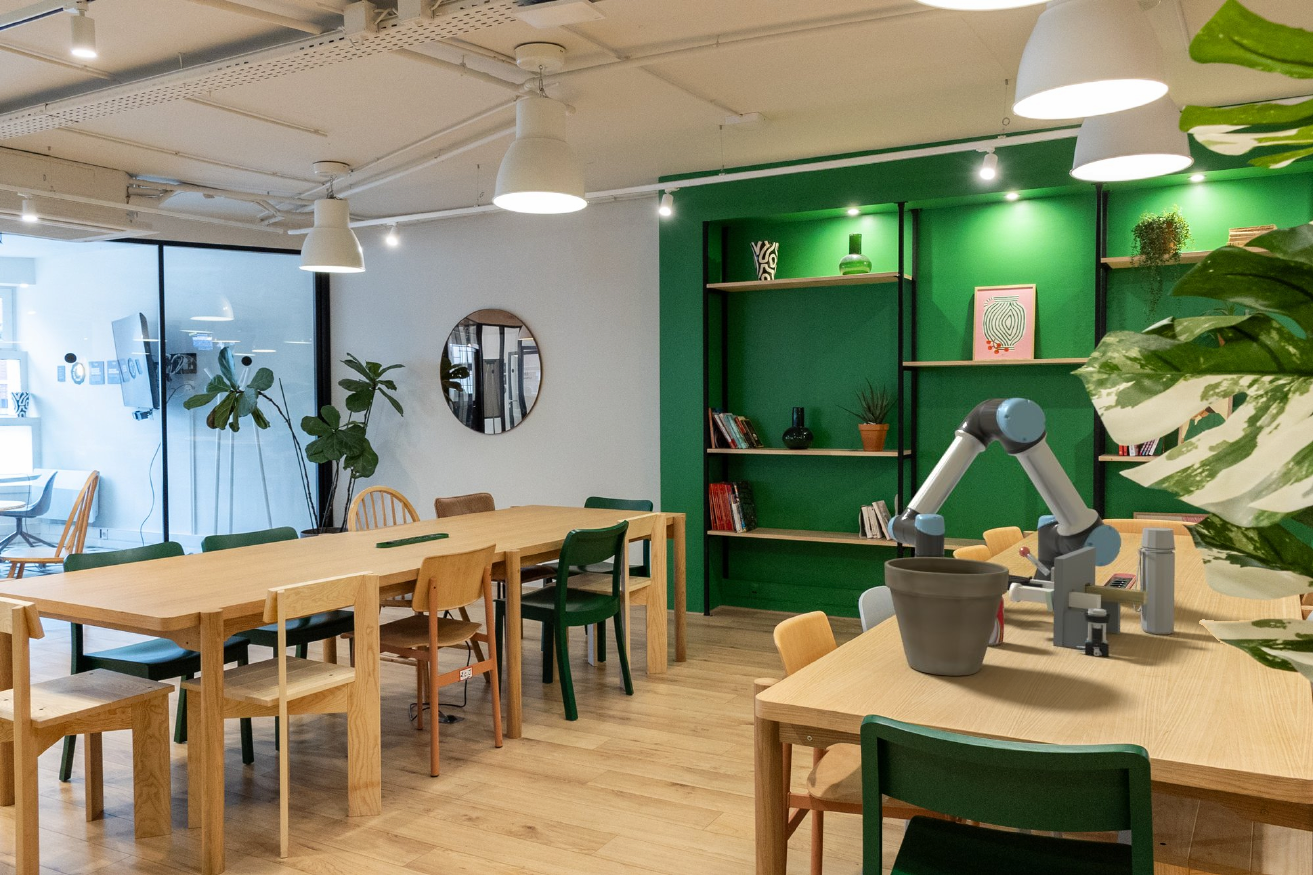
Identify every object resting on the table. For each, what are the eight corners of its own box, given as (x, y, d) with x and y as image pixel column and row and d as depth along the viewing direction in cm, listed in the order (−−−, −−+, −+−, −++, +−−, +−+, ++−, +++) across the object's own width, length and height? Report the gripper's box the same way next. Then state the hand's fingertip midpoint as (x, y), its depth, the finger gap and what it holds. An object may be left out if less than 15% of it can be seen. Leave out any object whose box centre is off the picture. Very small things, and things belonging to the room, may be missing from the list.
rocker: (1051, 609, 226) (1048, 590, 227) (1057, 609, 226) (1053, 590, 226) (1048, 611, 224) (1044, 592, 225) (1053, 611, 224) (1050, 591, 224)
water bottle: (1166, 628, 240) (1167, 527, 239) (1180, 636, 232) (1181, 531, 231) (1127, 627, 241) (1128, 526, 240) (1139, 635, 233) (1141, 530, 232)
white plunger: (1015, 599, 237) (1016, 581, 236) (1101, 610, 224) (1101, 591, 224) (1009, 602, 233) (1009, 584, 233) (1095, 613, 221) (1096, 594, 220)
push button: (1076, 655, 214) (1077, 610, 213) (1077, 650, 219) (1077, 605, 218) (1110, 659, 211) (1110, 613, 211) (1109, 653, 216) (1110, 608, 216)
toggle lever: (1021, 572, 231) (1021, 545, 230) (1051, 575, 226) (1052, 548, 226) (1017, 573, 229) (1017, 546, 229) (1048, 576, 224) (1048, 549, 224)
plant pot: (955, 648, 221) (956, 552, 220) (1034, 676, 198) (1035, 569, 197) (860, 658, 212) (861, 558, 211) (932, 689, 189) (932, 577, 188)
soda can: (1006, 647, 221) (1006, 594, 221) (973, 645, 223) (973, 593, 222) (1001, 640, 228) (1002, 589, 228) (969, 638, 230) (970, 587, 229)
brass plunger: (1061, 595, 241) (1061, 578, 241) (1147, 606, 229) (1148, 587, 228) (1055, 598, 238) (1055, 580, 238) (1142, 609, 225) (1143, 590, 225)
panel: (1082, 626, 242) (1083, 546, 241) (1120, 632, 236) (1121, 549, 236) (1049, 644, 224) (1050, 557, 223) (1090, 651, 218) (1091, 561, 217)
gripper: (974, 588, 260) (1066, 599, 245) (954, 595, 250) (1048, 607, 235) (974, 560, 260) (1066, 569, 244) (954, 566, 250) (1048, 576, 235)
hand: (1057, 588), depth 240 cm, fingers closed
